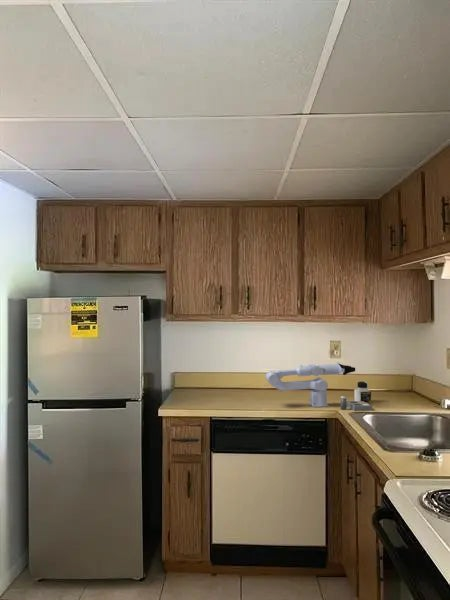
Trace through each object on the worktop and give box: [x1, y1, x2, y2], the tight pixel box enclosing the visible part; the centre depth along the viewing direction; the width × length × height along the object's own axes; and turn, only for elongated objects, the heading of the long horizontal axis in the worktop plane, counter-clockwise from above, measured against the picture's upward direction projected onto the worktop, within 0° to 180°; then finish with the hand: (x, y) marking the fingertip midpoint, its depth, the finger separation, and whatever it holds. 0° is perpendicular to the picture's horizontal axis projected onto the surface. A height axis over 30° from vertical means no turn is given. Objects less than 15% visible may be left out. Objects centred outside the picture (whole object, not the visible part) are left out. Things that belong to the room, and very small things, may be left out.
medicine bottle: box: [354, 381, 372, 404], centre depth 293 cm, size 7×7×12 cm
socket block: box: [346, 400, 373, 412], centre depth 276 cm, size 10×13×3 cm
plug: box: [340, 395, 347, 411], centre depth 273 cm, size 3×3×7 cm
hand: (352, 368), depth 284 cm, fingers open, 7 cm apart
